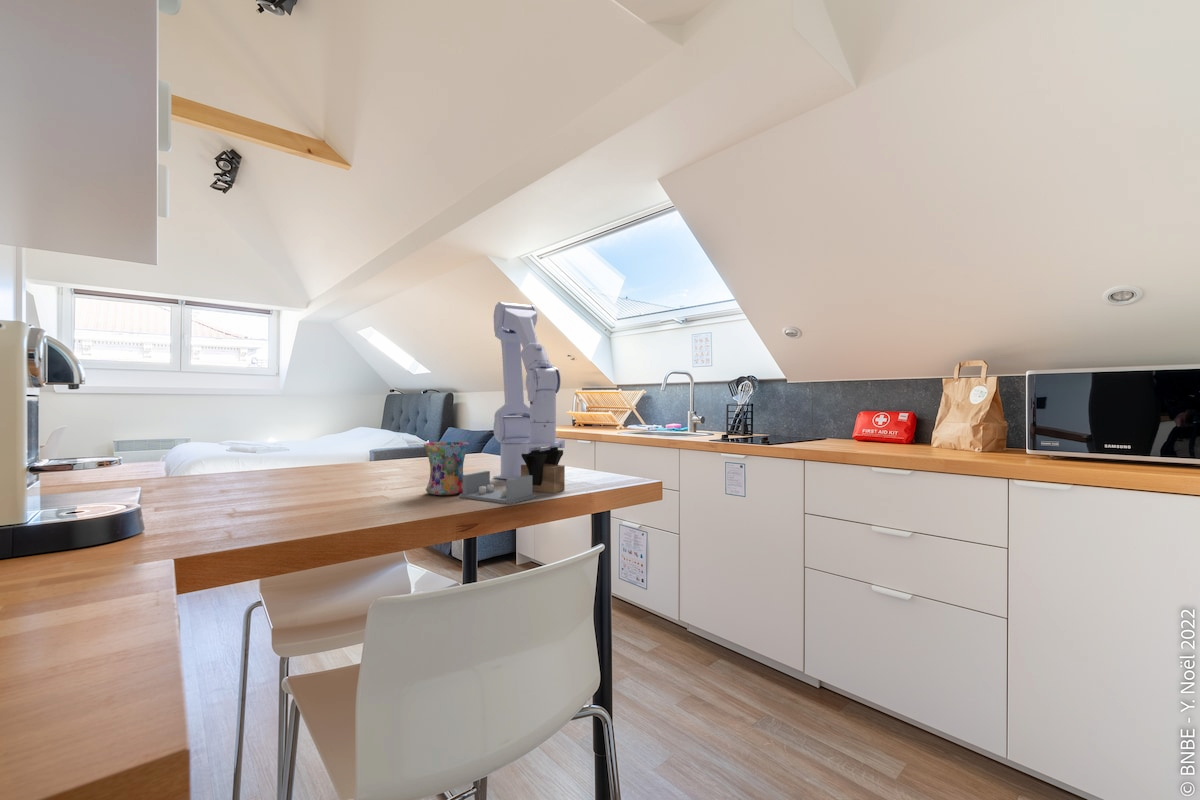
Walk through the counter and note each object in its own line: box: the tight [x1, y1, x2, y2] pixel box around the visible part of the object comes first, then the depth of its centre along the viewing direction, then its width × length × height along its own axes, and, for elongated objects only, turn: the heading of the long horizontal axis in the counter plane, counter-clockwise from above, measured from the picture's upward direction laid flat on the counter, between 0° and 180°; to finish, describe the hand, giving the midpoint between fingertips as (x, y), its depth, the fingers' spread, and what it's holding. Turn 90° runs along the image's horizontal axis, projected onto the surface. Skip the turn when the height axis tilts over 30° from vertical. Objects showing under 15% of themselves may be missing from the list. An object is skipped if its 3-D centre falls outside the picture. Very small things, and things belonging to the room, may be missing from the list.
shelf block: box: [521, 464, 566, 494], centre depth 114 cm, size 4×9×6 cm, turn 60°
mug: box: [423, 441, 470, 496], centre depth 111 cm, size 12×9×11 cm
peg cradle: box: [458, 470, 537, 505], centre depth 106 cm, size 8×14×4 cm, turn 60°
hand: (542, 483), depth 114 cm, fingers closed on shelf block, 4 cm apart
